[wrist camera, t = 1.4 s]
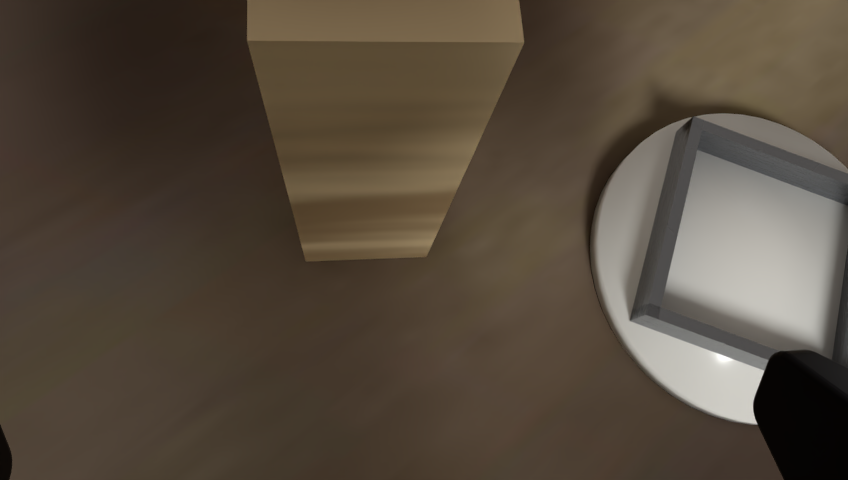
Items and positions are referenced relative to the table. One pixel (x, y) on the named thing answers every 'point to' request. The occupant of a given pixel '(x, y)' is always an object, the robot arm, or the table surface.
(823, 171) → the grey square frame
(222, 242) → the table surface
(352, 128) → the wooden block
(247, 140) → the table surface
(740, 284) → the round white plate
